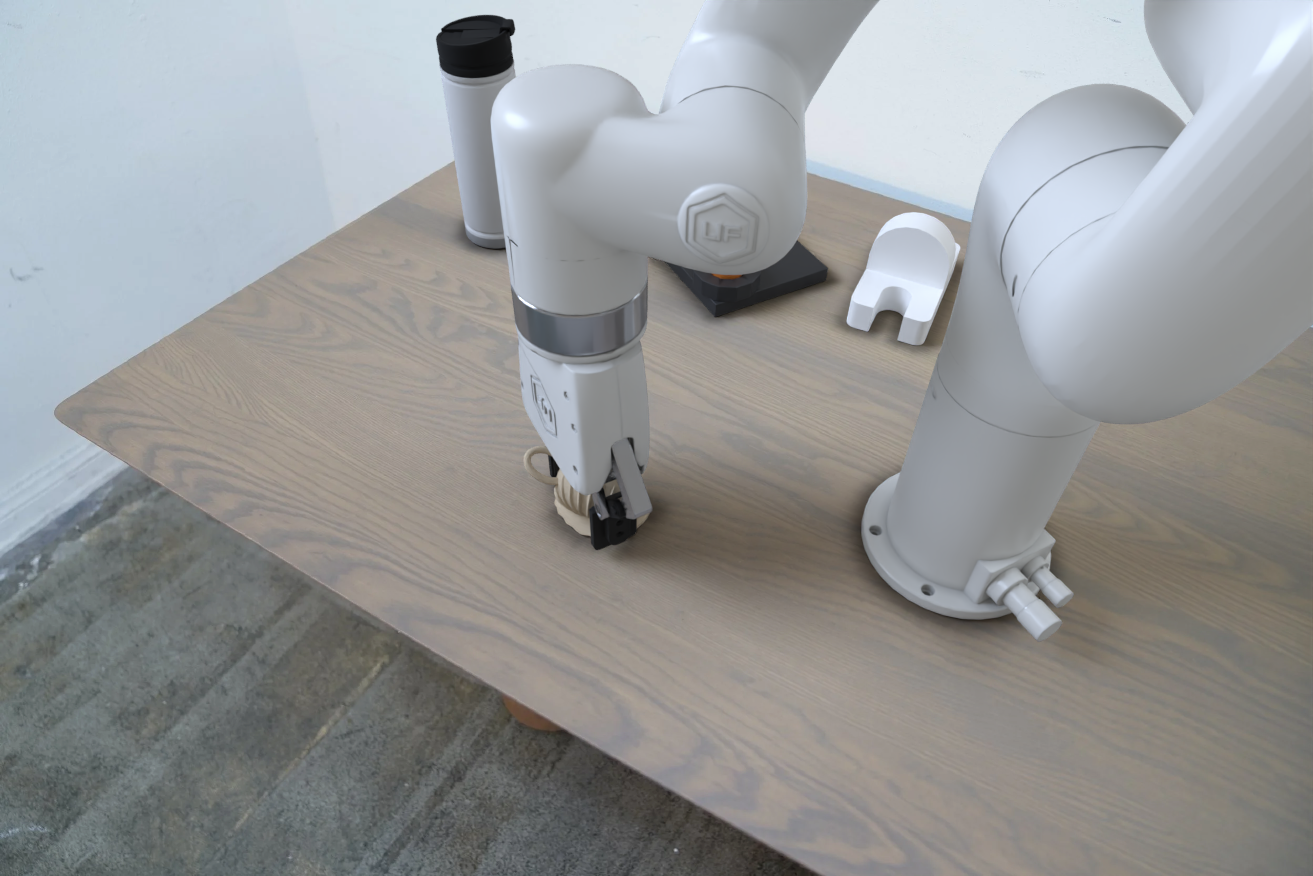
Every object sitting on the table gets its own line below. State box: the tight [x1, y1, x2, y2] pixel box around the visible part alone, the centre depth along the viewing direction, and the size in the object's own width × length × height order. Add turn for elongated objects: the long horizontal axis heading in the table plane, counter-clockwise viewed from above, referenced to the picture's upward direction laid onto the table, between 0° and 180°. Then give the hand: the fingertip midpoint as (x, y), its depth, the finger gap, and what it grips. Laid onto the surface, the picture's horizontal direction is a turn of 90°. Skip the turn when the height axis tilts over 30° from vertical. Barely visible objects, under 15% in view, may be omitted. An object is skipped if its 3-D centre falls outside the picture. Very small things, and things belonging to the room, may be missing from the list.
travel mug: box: [435, 14, 517, 250], centre depth 81 cm, size 6×7×20 cm
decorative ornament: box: [522, 445, 651, 538], centre depth 62 cm, size 4×8×5 cm, turn 67°
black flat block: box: [665, 239, 829, 318], centre depth 84 cm, size 14×12×3 cm
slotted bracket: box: [846, 211, 961, 346], centre depth 79 cm, size 13×7×8 cm, turn 155°
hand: (592, 503), depth 63 cm, fingers open, 6 cm apart
